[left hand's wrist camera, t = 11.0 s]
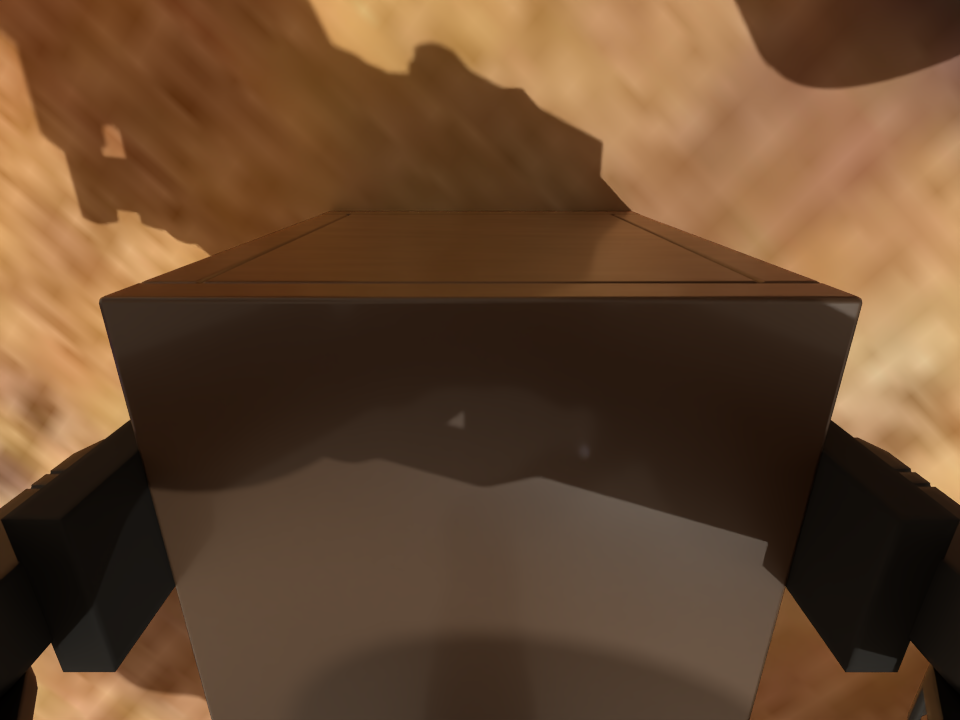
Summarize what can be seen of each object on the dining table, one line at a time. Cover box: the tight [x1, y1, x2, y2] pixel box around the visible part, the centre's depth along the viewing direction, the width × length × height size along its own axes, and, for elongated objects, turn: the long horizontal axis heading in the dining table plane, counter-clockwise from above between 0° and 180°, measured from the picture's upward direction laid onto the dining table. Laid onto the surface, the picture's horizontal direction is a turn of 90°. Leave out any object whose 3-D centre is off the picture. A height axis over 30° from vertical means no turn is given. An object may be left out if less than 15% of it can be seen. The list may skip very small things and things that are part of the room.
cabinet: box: [99, 211, 862, 720], centre depth 17 cm, size 22×11×12 cm, turn 0°
